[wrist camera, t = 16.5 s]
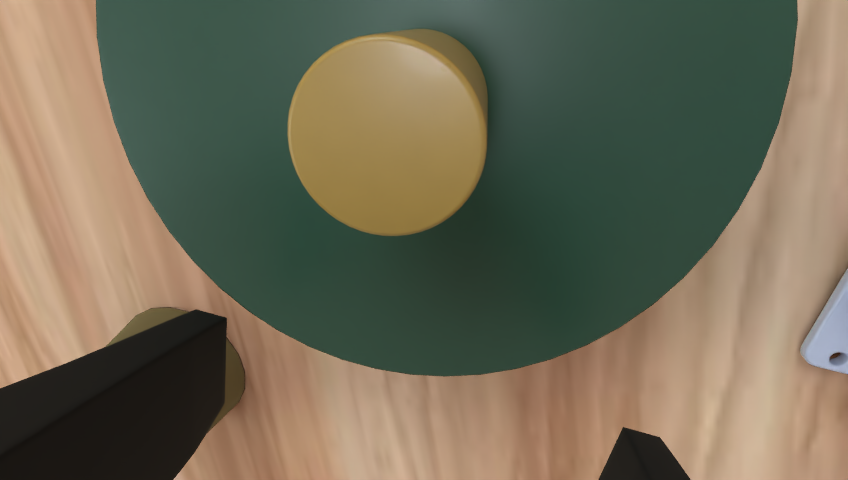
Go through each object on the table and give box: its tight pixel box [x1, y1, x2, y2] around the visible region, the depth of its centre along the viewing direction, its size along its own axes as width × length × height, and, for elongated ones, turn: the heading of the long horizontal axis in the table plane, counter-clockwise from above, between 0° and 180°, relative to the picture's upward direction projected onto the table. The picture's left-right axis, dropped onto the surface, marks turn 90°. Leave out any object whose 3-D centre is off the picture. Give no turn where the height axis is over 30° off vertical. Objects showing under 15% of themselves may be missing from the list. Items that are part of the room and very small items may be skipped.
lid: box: [96, 0, 798, 376], centre depth 8 cm, size 12×12×5 cm
